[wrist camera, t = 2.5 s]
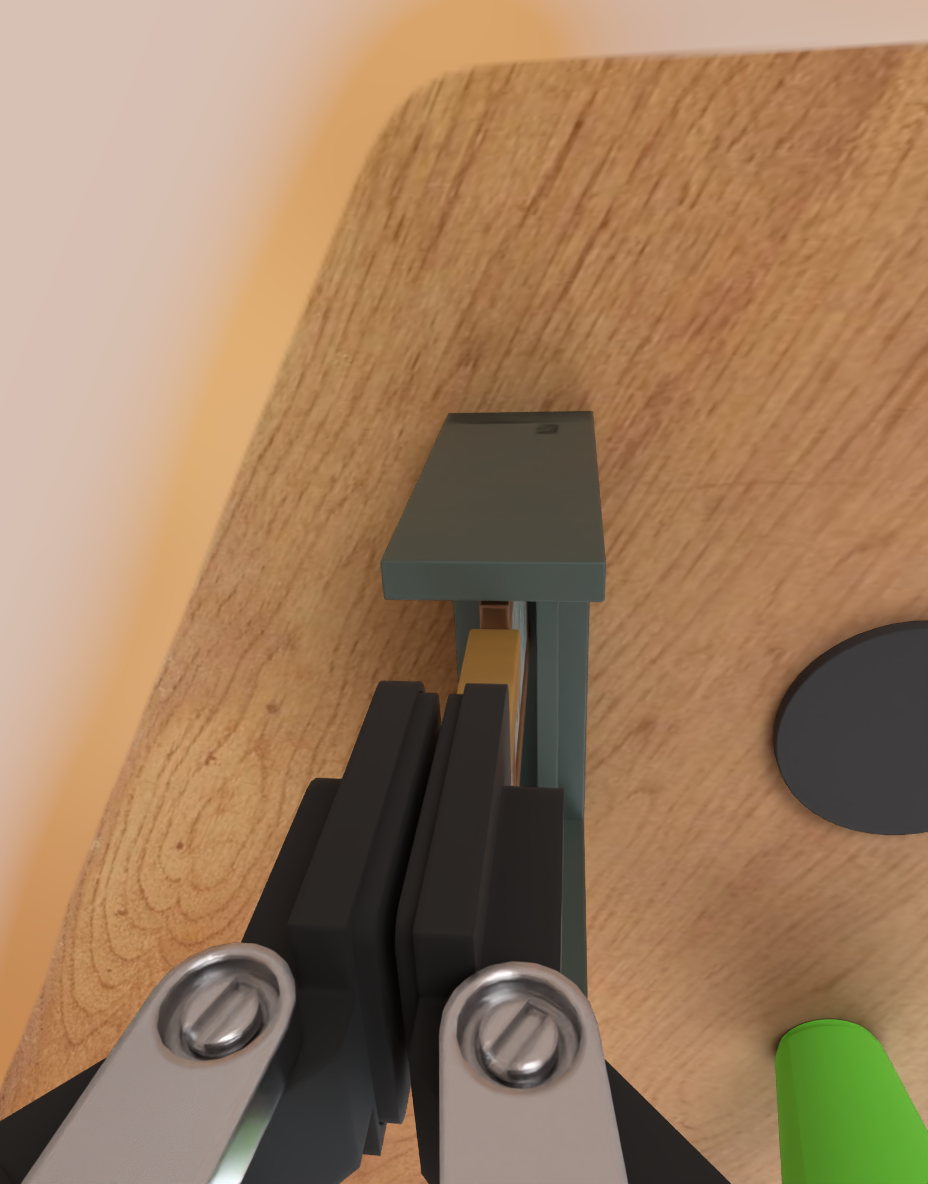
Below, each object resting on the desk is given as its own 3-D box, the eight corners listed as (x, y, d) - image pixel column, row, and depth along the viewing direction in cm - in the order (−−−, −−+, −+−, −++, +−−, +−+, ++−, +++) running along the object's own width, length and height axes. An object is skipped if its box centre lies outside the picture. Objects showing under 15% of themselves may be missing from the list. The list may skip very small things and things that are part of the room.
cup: (834, 1126, 45) (906, 1392, 36) (698, 1056, 44) (734, 1313, 34) (965, 1044, 41) (1086, 1319, 31) (820, 964, 40) (900, 1226, 30)
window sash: (500, 463, 28) (443, 717, 16) (535, 463, 28) (507, 719, 16) (505, 646, 32) (461, 978, 19) (537, 646, 31) (514, 981, 19)
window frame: (448, 412, 29) (379, 561, 19) (592, 410, 29) (605, 562, 18) (470, 808, 38) (431, 1065, 27) (583, 812, 37) (587, 1077, 26)
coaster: (790, 617, 32) (793, 625, 31) (1078, 621, 30) (1087, 629, 30) (759, 820, 36) (762, 830, 36) (1008, 830, 35) (1014, 841, 34)
